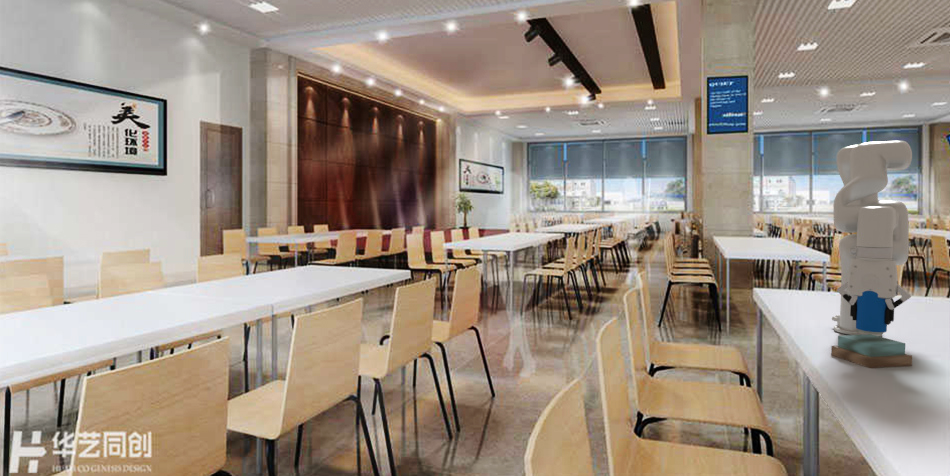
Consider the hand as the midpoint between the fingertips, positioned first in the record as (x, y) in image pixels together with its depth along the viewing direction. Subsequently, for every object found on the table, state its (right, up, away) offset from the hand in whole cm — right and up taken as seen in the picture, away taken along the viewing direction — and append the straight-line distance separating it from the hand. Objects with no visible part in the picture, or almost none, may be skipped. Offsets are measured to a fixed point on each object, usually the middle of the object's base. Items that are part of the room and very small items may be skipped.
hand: (871, 321), depth 138 cm
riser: (0, -10, 0) cm, 10 cm away
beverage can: (0, -3, 0) cm, 3 cm away
